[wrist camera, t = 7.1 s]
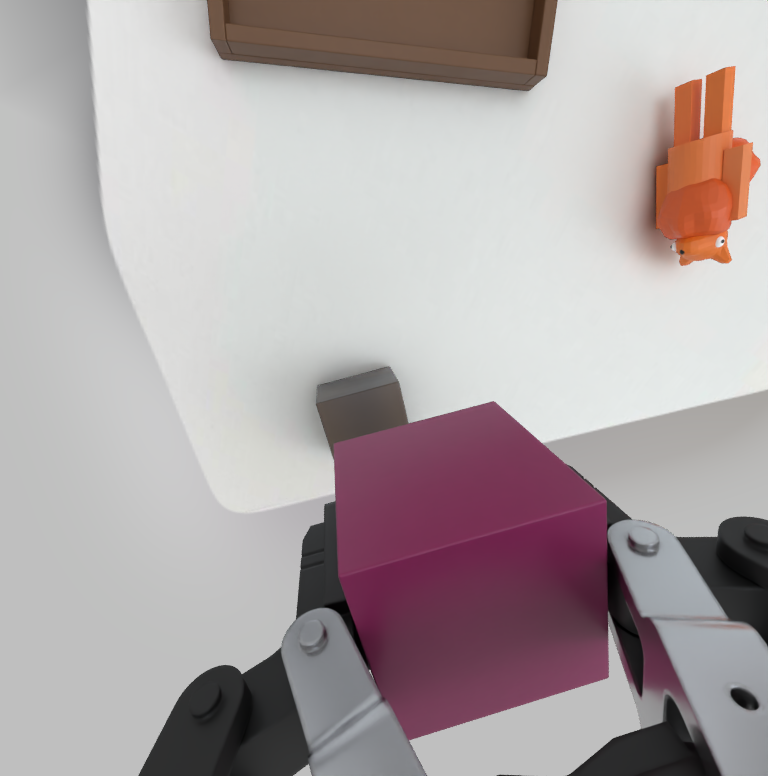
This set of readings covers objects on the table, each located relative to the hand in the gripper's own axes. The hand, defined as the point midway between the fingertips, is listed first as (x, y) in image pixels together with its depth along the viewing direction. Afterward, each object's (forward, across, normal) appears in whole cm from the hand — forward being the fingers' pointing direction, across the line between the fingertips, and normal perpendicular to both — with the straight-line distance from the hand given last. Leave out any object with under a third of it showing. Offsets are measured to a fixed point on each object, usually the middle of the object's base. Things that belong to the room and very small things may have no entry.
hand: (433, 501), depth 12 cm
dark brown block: (+19, +2, +5) cm, 20 cm away
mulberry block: (+1, 0, 0) cm, 1 cm away
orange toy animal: (+20, -26, -7) cm, 33 cm away
